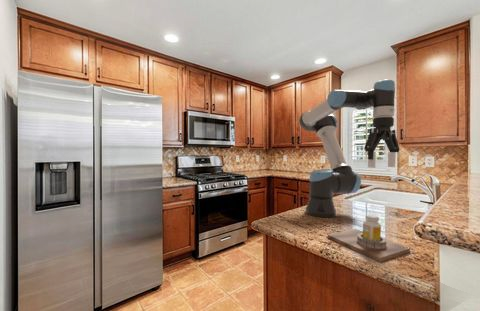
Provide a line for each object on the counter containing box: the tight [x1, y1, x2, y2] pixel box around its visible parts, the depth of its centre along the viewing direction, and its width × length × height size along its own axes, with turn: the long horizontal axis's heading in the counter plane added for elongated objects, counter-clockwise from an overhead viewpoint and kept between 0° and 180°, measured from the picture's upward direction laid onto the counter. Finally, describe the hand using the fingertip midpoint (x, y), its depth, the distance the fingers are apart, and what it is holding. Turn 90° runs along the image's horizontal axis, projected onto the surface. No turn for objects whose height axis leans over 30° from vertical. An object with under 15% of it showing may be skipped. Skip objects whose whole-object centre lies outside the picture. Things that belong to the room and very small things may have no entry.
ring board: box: [327, 228, 411, 262], centre depth 79 cm, size 20×16×3 cm
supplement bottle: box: [362, 213, 382, 241], centre depth 77 cm, size 5×5×10 cm
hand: (381, 167), depth 94 cm, fingers open, 13 cm apart
